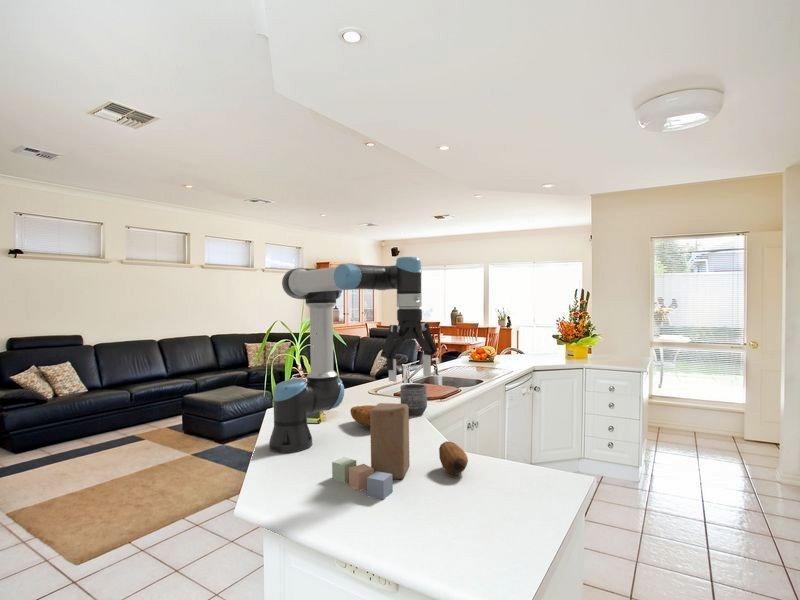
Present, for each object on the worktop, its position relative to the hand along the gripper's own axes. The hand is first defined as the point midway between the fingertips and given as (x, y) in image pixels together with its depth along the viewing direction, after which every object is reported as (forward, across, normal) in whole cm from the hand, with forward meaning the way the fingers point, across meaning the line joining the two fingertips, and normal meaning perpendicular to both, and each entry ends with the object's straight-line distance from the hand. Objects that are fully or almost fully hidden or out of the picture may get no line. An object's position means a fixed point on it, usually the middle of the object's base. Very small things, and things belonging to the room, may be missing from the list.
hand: (410, 378), depth 135 cm
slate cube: (+28, -17, -7) cm, 33 cm away
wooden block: (+28, -5, +3) cm, 29 cm away
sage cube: (+28, -18, +9) cm, 35 cm away
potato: (+28, +10, -8) cm, 31 cm away
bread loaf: (+29, +22, +50) cm, 61 cm away
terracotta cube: (+28, -17, +1) cm, 33 cm away
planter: (+29, +47, +54) cm, 77 cm away
